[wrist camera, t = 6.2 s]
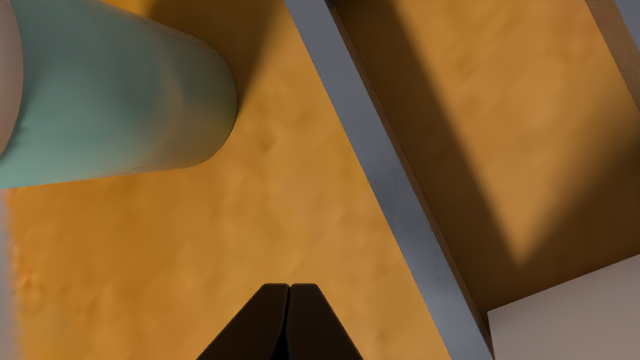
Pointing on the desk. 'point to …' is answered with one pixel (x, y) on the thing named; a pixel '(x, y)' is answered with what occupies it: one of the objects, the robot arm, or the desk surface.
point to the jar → (104, 94)
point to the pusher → (574, 319)
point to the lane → (396, 174)
